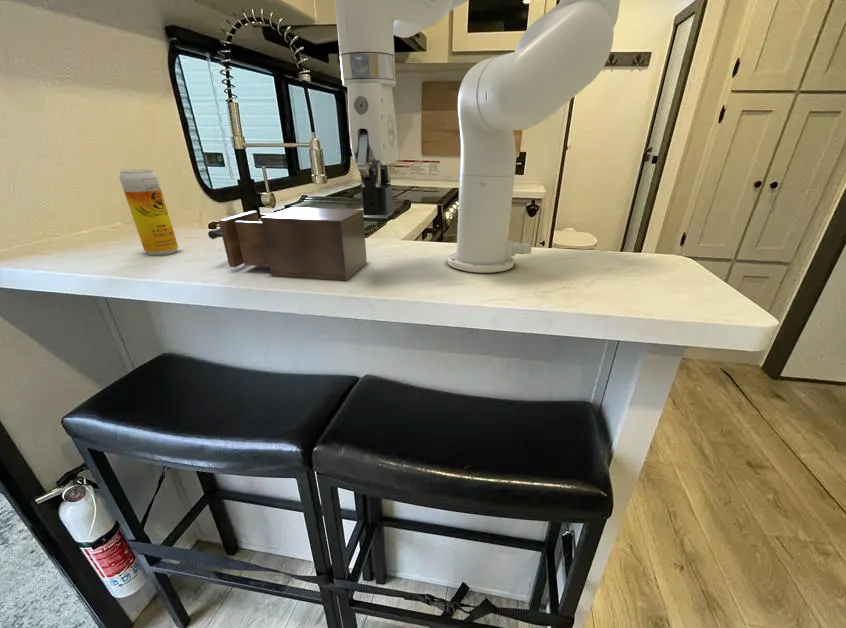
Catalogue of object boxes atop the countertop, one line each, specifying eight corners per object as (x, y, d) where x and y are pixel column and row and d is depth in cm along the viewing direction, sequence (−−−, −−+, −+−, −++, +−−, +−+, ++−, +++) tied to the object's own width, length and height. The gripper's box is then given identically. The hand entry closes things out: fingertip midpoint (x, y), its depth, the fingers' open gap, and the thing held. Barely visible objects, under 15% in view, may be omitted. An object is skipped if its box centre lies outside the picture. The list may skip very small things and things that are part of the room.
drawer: (207, 265, 74) (195, 219, 70) (240, 251, 82) (230, 210, 78) (295, 271, 71) (288, 223, 67) (319, 256, 80) (314, 213, 76)
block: (370, 211, 70) (368, 185, 68) (393, 211, 69) (392, 185, 67) (363, 215, 66) (360, 188, 64) (387, 215, 66) (385, 188, 64)
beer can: (164, 257, 82) (137, 172, 74) (138, 255, 83) (108, 171, 75) (186, 249, 87) (162, 169, 79) (161, 248, 88) (135, 169, 80)
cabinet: (271, 275, 72) (260, 217, 67) (300, 259, 82) (292, 206, 77) (346, 280, 70) (340, 220, 65) (366, 263, 80) (363, 209, 75)
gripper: (378, 65, 50) (388, 222, 60) (407, 78, 65) (411, 204, 74) (320, 67, 52) (339, 221, 61) (361, 80, 66) (371, 204, 75)
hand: (378, 211), depth 68 cm, fingers closed on block, 4 cm apart
